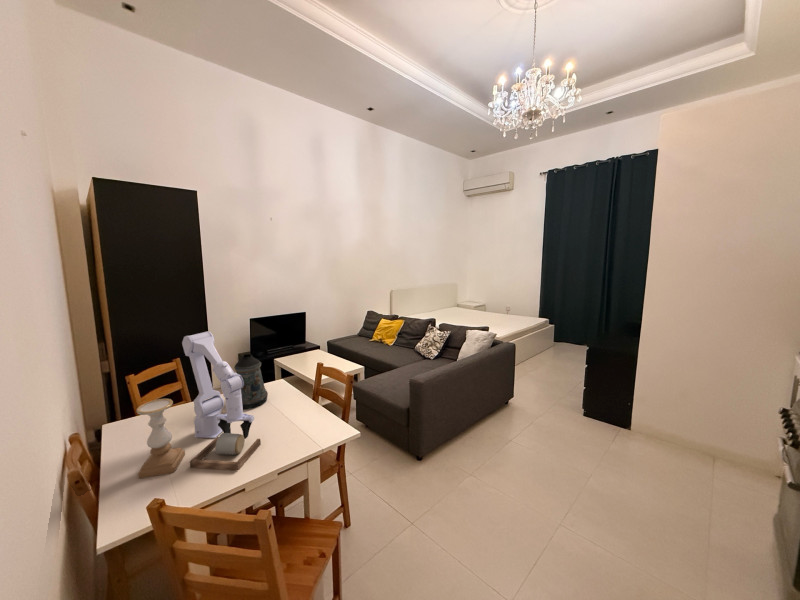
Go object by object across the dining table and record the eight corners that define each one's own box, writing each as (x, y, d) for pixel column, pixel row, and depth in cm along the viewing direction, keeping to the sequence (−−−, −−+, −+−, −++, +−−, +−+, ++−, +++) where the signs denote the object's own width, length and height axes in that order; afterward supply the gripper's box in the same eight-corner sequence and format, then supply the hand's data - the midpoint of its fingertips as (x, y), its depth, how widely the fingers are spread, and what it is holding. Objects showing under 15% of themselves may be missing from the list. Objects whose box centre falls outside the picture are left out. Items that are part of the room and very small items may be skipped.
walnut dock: (190, 467, 113) (189, 461, 112) (218, 442, 128) (217, 436, 127) (238, 470, 111) (237, 464, 111) (260, 444, 126) (260, 438, 126)
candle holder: (174, 472, 110) (166, 410, 106) (137, 479, 107) (128, 415, 103) (185, 453, 121) (178, 396, 117) (152, 458, 117) (144, 400, 114)
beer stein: (248, 413, 150) (244, 364, 146) (221, 404, 158) (217, 358, 154) (275, 398, 165) (271, 353, 161) (249, 391, 173) (246, 348, 169)
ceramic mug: (237, 458, 117) (236, 439, 116) (215, 458, 117) (213, 440, 116) (250, 441, 128) (248, 424, 127) (230, 442, 128) (228, 424, 127)
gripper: (210, 410, 120) (213, 442, 122) (245, 411, 119) (248, 444, 121) (221, 401, 127) (225, 431, 129) (255, 402, 126) (258, 433, 128)
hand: (237, 437), depth 125 cm, fingers open, 7 cm apart
